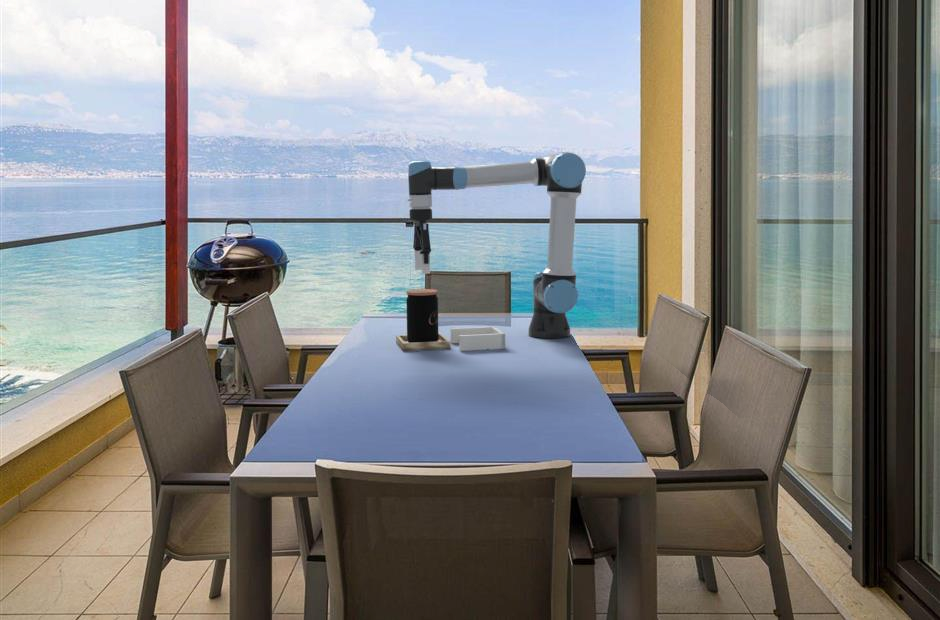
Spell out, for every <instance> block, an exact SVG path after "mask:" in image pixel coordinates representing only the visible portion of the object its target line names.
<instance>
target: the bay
mask: <svg viewBox="0 0 940 620" xmlns="http://www.w3.org/2000/svg"><path fill="white" fill-rule="evenodd" d="M450 344H459V346H458V347H459V351H460V352H463V351H464V352H465V351H482V350H485V351H486V350H487V349H489V350H503V349H504V350H505V349H506V333H504V332H503V331H501V330H500V329H498V328H497V327H495V326H482V327H481V326H479V327H478V326H476V327H455V328H454V327H453V328H452V327H451V328H450Z"/></svg>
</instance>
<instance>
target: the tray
mask: <svg viewBox="0 0 940 620" xmlns="http://www.w3.org/2000/svg"><path fill="white" fill-rule="evenodd" d="M395 343H396V344H397V345H398V347H399V349H401V350H402V352H411V351H413V352H414V351H430V350H431V351H432V350H449V349H450V350H451V340H449V338H448V337H446V336H445V335H444V334H443V333H441V332H440V333H439V332H438V341H436V342H415V343H409V342H408V341H407V334H397V335H395Z"/></svg>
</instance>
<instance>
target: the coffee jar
mask: <svg viewBox="0 0 940 620" xmlns="http://www.w3.org/2000/svg"><path fill="white" fill-rule="evenodd" d="M438 293H439V292H438V290H437V289H434V288H431V289H430V288H418V289H415V288H414V289H408V290H406V295H407V297H406V303H405V304H406V335H407V341H408V342H409V343H415V342H436V341H438V333H439V299H438V298H439V297H438V296H437V295H438Z"/></svg>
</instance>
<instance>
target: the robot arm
mask: <svg viewBox="0 0 940 620" xmlns="http://www.w3.org/2000/svg"><path fill="white" fill-rule="evenodd" d="M586 169H587V168H586V164H585V162H584V160H583V159H582V158H581V157H580V156H579V155H578V154H576V153H574V152H568V151H566V152H565V151H563V152H560V153H554V154H552V155H548V156H545V157H539V158H538V157H536V158H533V159H532V160H531V161H521V162H520V161H519V162H509V163H506V162H505V163H494V164H482V165H481V164H480V165H467V166H466V165H465V166H463V165H462V166H458V165H457V166H438V167H435V166H432V164H431V162H430V161H429V160H427V161H426V160H423V161H422V160H421V161H420V160H419V161H417V160H415V161H411V162H409V163H408V173H407V174H408V175H407V177H408V179H407V180H408V197H409V198H407V201H408V202H409V219H410V221H415V222H413V228H414V230H413V247H412V248H413V250H414V270H415V271H421V274H422V275H426V274H428V275H429V274H431V256H430V255H431V252H432V249H431V239H430V231H429V230H430V229H429V228H430V227H429V223H427V221H431V220H432V219H433V209H432V208H431V207H433V195H432V191H437V190H438V191H439V190H441V191H444V190H445V191H446V190H447V191H450V190H452V191H453V190H455V191H457V190H465V189H471V188H484V187H485V188H487V187H501V186H511V185H512V186H514V185H527V184H533V186H535V187H539V186H543V187H546V193H547V194H548V195H549V197H550V210H549V213H550V214H549V226H548V227H549V229H548V230H549V231H548V243H547V244H548V246H547V262H546V268H545V269H544V270H543V271H541V272H540V271H539V272H538V271H537V272H535V273H534V274H533V280H532V284H533V302H532V303H533V308H532V309H533V315H532V317H531V320H530V323H529V327H528V336H529V337H533V338H538V339H539V338H540V339H563V338H567V337H570V336H571V327H570V323H569V320H568V318H567V315H566V313H567V312H569V311H571V310H572V309H573V308H575V306H576V305H577V303H578V299H579V292H578V288H577V287H576V285H577V284H576V282H577V280H576V279H577V273H576V272H575V271H574V270H573V261H574V260H573V259H574V242H575V229H576V228H575V227H576V211H577V210H576V209H577V199H578V197H579V196H581V195H582V189H583V182H584V180H585V177H586V172H587V170H586ZM410 208H411V209H410Z"/></svg>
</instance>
